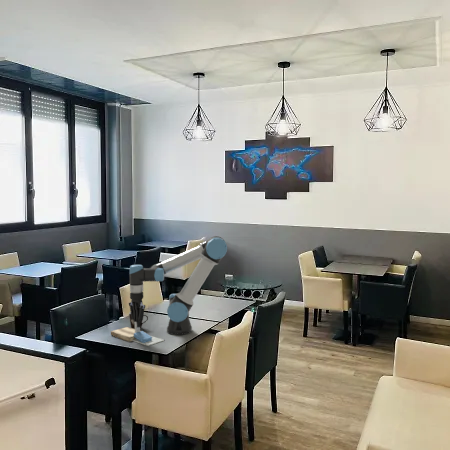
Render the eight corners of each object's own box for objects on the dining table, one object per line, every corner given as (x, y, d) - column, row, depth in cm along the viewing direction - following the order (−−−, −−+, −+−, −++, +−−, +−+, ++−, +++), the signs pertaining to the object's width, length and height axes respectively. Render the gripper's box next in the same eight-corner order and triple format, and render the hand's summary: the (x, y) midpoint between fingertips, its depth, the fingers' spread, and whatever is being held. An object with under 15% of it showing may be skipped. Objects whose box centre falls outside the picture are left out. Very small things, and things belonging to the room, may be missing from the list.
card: (133, 336, 253) (133, 333, 253) (141, 334, 258) (142, 330, 258) (143, 342, 248) (143, 339, 247) (151, 340, 252) (152, 337, 252)
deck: (127, 330, 272) (127, 326, 272) (146, 336, 261) (146, 332, 260) (110, 335, 263) (110, 331, 263) (129, 341, 252) (129, 337, 251)
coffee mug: (126, 328, 278) (126, 312, 277) (137, 325, 284) (137, 310, 284) (138, 332, 270) (137, 315, 269) (149, 328, 276) (148, 313, 276)
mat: (148, 335, 262) (148, 335, 262) (164, 340, 253) (164, 340, 253) (132, 340, 253) (132, 340, 253) (147, 346, 244) (147, 345, 244)
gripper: (124, 291, 256) (125, 331, 258) (138, 294, 248) (139, 336, 249) (135, 289, 262) (135, 328, 263) (149, 292, 253) (149, 333, 255)
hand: (137, 332), depth 256 cm, fingers closed
